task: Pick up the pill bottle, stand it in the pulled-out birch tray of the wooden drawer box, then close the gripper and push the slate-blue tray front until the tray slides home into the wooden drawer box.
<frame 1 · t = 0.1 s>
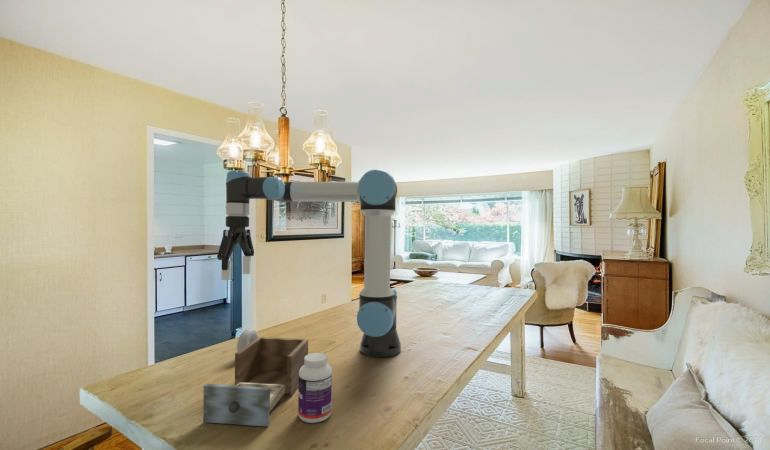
hand: (236, 276, 121), 28 cm above the table, fingers open, 13 cm apart
donut: (247, 358, 121), on the table
pill bottle: (315, 416, 84), on the table
wooden drawer box: (273, 383, 101), on the table
tray: (248, 393, 86), point 4 cm above the table, slide at 13.0 cm
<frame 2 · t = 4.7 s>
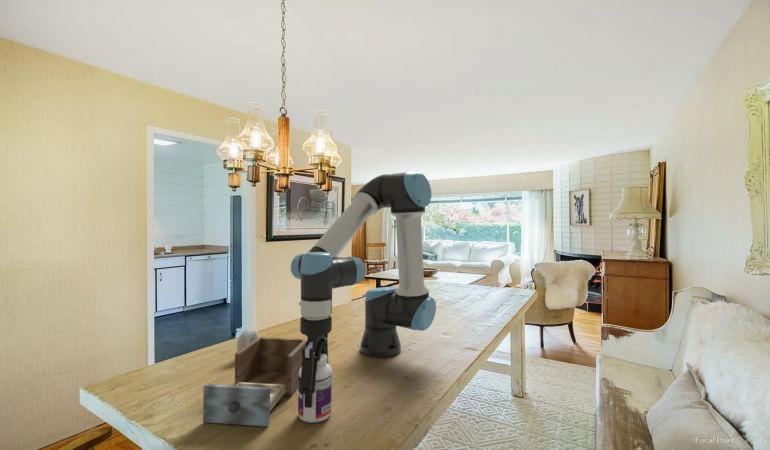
hand: (315, 409, 84), 2 cm above the table, fingers closed on pill bottle, 8 cm apart
pill bottle: (314, 416, 84), on the table, touching gripper
everything else where it was.
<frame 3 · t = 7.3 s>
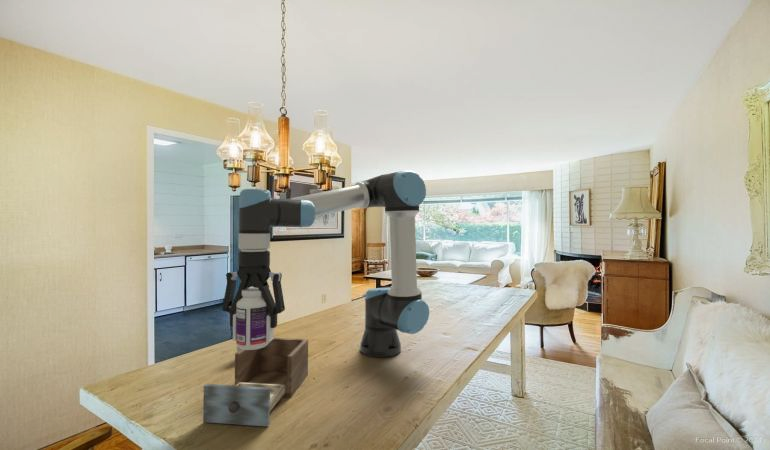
hand: (253, 339, 88), 17 cm above the table, fingers closed on pill bottle, 8 cm apart
pill bottle: (253, 346, 88), point 15 cm above the table, touching gripper
everything else where it was.
when the fingers open (5 cm above the table, at t = 9.9 s): pill bottle drops 1 cm, resting on tray.
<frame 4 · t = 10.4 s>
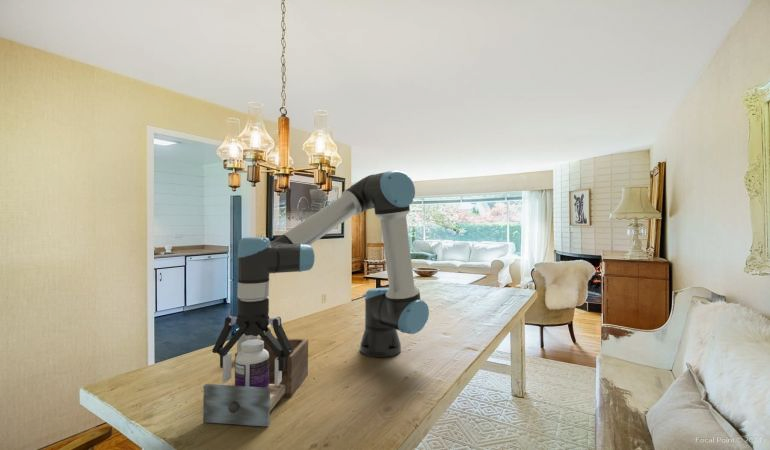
hand: (252, 381, 88), 6 cm above the table, fingers open, 13 cm apart
pill bottle: (252, 400, 88), point 2 cm above the table, touching tray
tray: (248, 393, 86), point 4 cm above the table, slide at 13.0 cm, touching pill bottle
everything else where it was.
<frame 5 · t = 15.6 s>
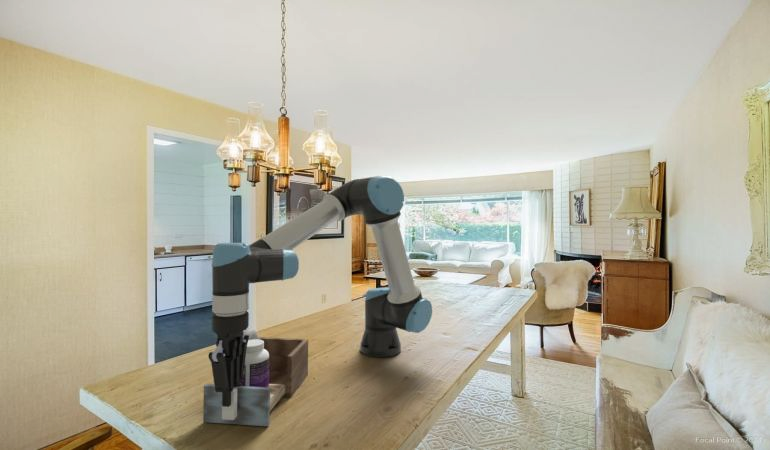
hand: (229, 417, 77), 3 cm above the table, fingers closed
tray: (248, 393, 86), point 4 cm above the table, slide at 13.0 cm, touching gripper, pill bottle
everything else where it was.
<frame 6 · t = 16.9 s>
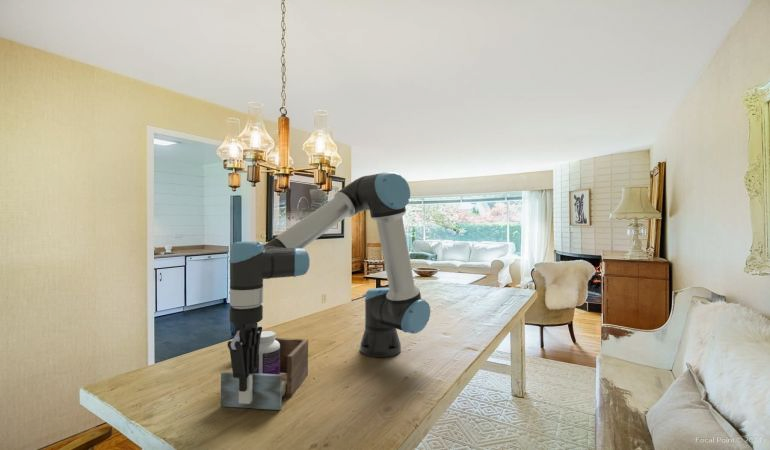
hand: (245, 401, 84), 3 cm above the table, fingers closed
pill bottle: (264, 387, 95), point 2 cm above the table, touching tray
tray: (261, 380, 93), point 4 cm above the table, slide at 5.9 cm, touching gripper, pill bottle
everything else where it was.
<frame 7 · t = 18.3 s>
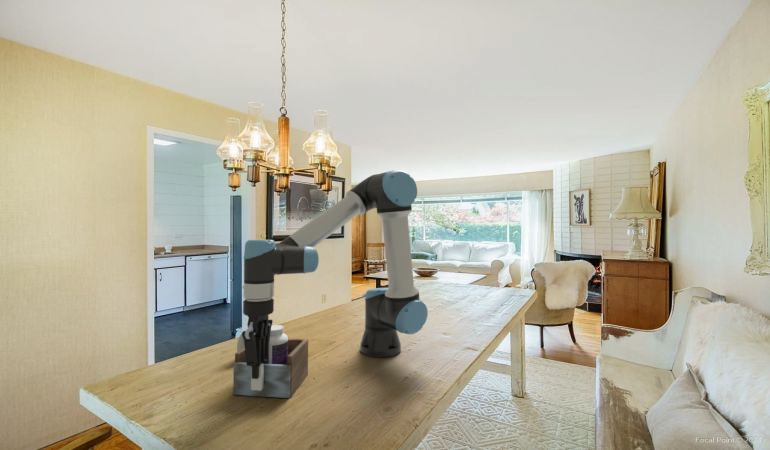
hand: (257, 389, 90), 3 cm above the table, fingers closed
pill bottle: (273, 377, 101), point 2 cm above the table, touching tray
tray: (270, 370, 99), point 5 cm above the table, slide at -0.1 cm, touching gripper, pill bottle
everything else where it was.
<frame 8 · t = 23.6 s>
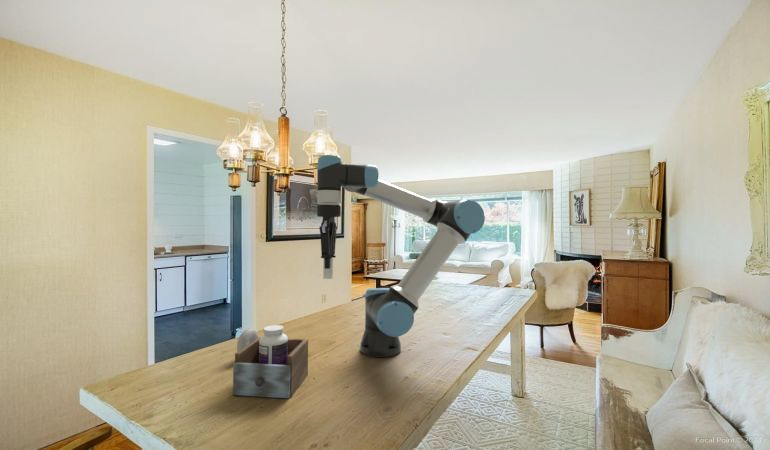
hand: (328, 278, 111), 29 cm above the table, fingers closed
tray: (270, 371, 99), point 4 cm above the table, slide at 0.0 cm, touching pill bottle
everything else where it was.
at the end: tray slide at 0.0 cm; pill bottle inside the target area on the wooden drawer box (0.1 cm from its centre), point 1.7 cm above the wooden drawer box's base; pill bottle tilted 0° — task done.
